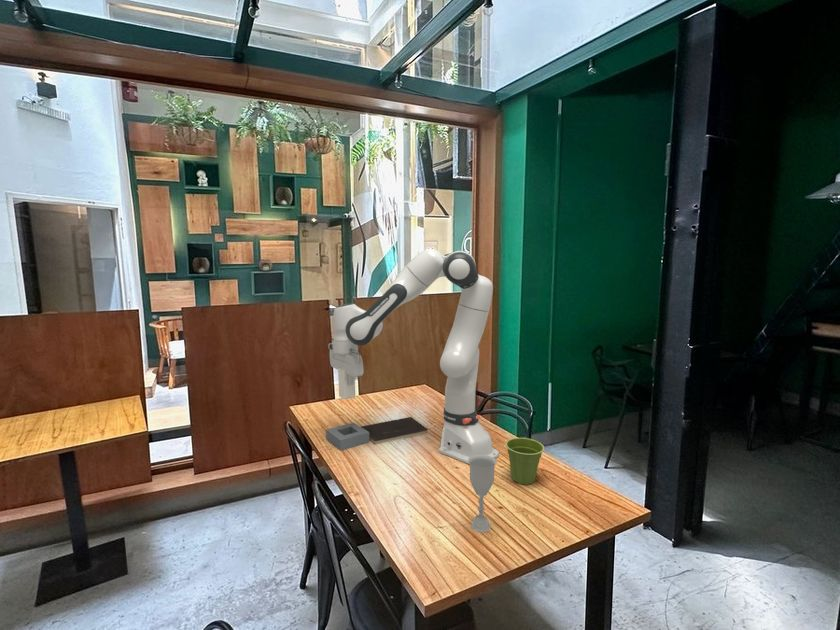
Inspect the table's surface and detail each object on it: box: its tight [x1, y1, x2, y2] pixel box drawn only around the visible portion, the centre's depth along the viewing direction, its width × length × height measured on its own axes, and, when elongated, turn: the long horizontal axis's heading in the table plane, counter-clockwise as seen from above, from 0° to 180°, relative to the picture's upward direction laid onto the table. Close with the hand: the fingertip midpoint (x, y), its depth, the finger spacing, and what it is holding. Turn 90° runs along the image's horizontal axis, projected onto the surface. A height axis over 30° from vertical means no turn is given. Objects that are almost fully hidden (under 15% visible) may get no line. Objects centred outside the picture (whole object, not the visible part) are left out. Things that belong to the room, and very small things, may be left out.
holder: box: [325, 422, 370, 451], centre depth 164 cm, size 12×12×4 cm
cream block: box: [337, 368, 356, 400], centre depth 161 cm, size 4×4×11 cm
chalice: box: [468, 455, 497, 533], centre depth 111 cm, size 7×7×18 cm
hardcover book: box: [359, 416, 429, 445], centre depth 173 cm, size 16×23×2 cm
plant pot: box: [505, 437, 545, 485], centre depth 135 cm, size 12×12×11 cm
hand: (346, 383), depth 161 cm, fingers closed on cream block, 4 cm apart
